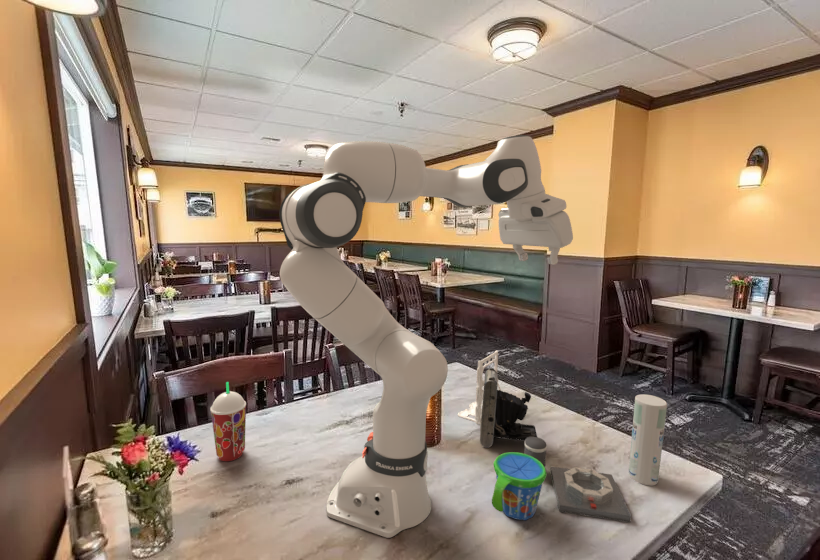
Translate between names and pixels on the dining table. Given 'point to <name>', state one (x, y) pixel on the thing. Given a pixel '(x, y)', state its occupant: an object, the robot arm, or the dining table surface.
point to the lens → (536, 448)
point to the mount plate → (588, 493)
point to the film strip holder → (479, 390)
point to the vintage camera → (502, 413)
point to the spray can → (647, 438)
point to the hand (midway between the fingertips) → (538, 261)
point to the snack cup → (517, 484)
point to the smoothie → (229, 424)
